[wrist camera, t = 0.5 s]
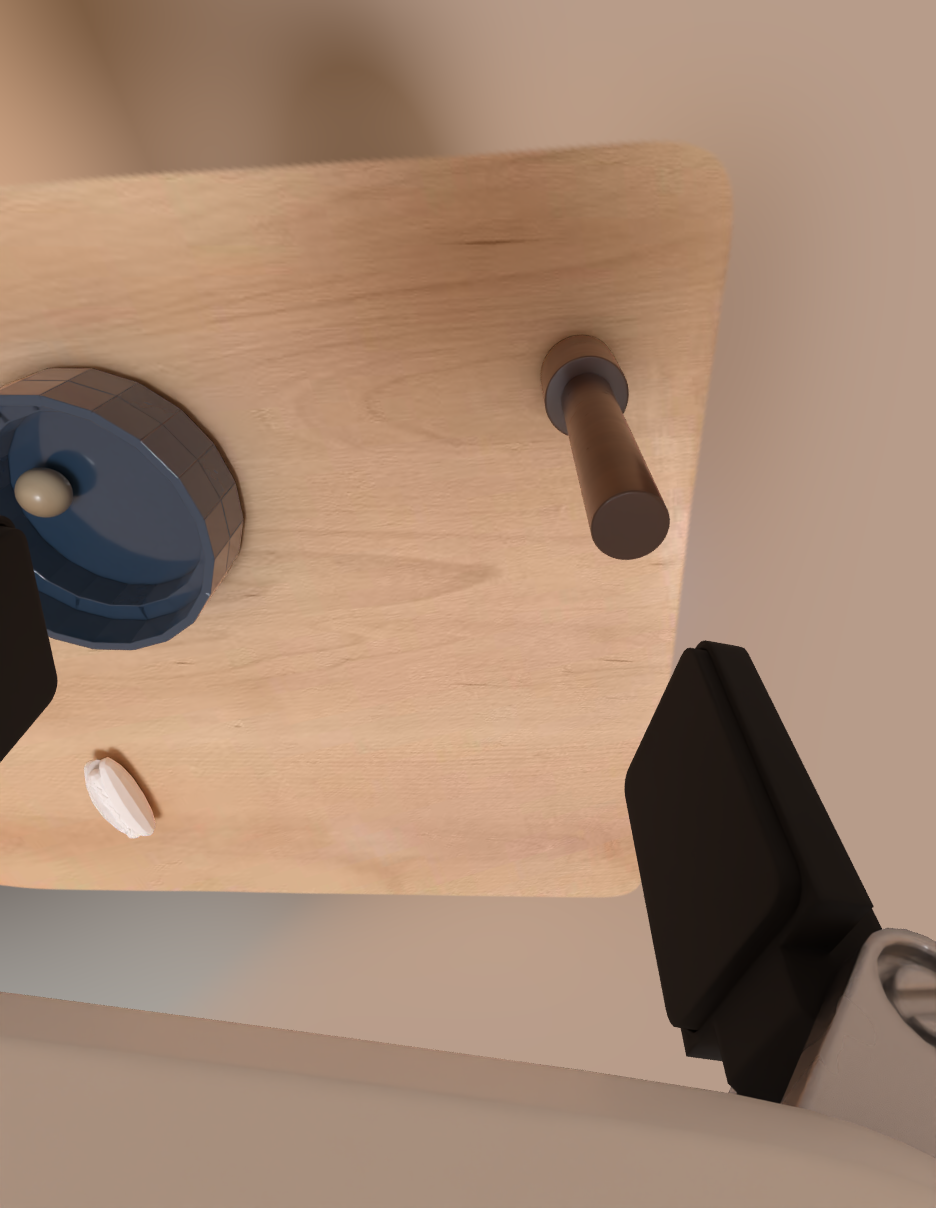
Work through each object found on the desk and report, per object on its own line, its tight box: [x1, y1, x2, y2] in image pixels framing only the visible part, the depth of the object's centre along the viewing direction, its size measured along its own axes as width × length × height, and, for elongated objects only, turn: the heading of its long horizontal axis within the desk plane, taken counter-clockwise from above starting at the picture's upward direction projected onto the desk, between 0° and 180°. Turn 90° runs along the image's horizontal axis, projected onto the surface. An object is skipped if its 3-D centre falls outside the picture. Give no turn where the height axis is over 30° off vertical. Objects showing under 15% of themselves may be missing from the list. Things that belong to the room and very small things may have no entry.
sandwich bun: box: [84, 757, 156, 838], centre depth 49 cm, size 3×8×3 cm, turn 10°
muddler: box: [541, 335, 670, 560], centre depth 25 cm, size 4×4×16 cm
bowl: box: [0, 368, 243, 650], centre depth 35 cm, size 14×14×5 cm
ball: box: [14, 468, 73, 517], centre depth 35 cm, size 3×3×3 cm
